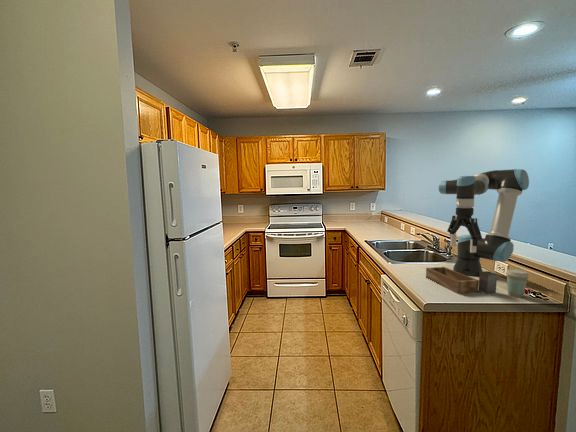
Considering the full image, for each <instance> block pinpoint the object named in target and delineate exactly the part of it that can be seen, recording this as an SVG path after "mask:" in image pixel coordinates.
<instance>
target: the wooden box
mask: <svg viewBox="0 0 576 432" xmlns="http://www.w3.org/2000/svg"><path fill="white" fill-rule="evenodd" d="M425 270H426V271H425V278H426V279H427V278H428V279H427V280H429V279H430V280H429V281H431V280H432V282H433V281H434V282H433V283H435V282H436V283H435V284H437V285H440V286H442V287H443V288H446V289H447V290H450V291H452V292H454V293H455V294H457V295H459V294H470V293H471V294H472V293H479V291H478V290H479V279H476V278H473V277H471V276H470V275H464V274H461V273H459V272H456V271H454V270H453V269H451V268H448V267H447V266H436V267H426V268H425Z"/></svg>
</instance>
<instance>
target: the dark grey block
mask: <svg viewBox="0 0 576 432" xmlns="http://www.w3.org/2000/svg"><path fill="white" fill-rule="evenodd" d="M478 280H479V287H478V292H481V293H482V294H483V293H484V294H486V295H494V294H495V295H496V294H497V284H498V283H497V281H498V273H495V272H492V271H487V270H486V271H483V272H480V274H479V277H478Z"/></svg>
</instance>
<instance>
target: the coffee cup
mask: <svg viewBox="0 0 576 432" xmlns="http://www.w3.org/2000/svg"><path fill="white" fill-rule="evenodd" d="M505 274H506V281H507V282H506V283H507V284H506V285H507V286H506V287H507V294H508V295H509V296H511V297H515V298H523V297H524V295H525V291H526V287H527V284H528V283H527V282H528V278H530V276H529V273H528V271H526V270H523V269H518V268H508V269H507V270H506V273H505Z"/></svg>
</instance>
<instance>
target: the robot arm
mask: <svg viewBox="0 0 576 432" xmlns="http://www.w3.org/2000/svg"><path fill="white" fill-rule="evenodd" d="M529 184H530V179H529V174H528V172H527V171H526V170H525V169H517V168H514V169H499V170H498V169H496V170H488V171H486V172H485V171H484V172H481V173H477V174H475V175H460V176H458V177H457V179H452V180H447V179H446V180H442V181H440V182H439V183H438V192H439V193H440V194H441V195H456V198H455V199H456V202H455V206H456V208H455V215H452V217H451V220H450V224H449V226H448V229H447V232H448V234H449V235H450V236H449V237H450V238H449V239H450V244H449V245H450V247H453V248H454V247H456V246H457V253H456V254H457V255H456V257H457V258H456V260H455V263H454V265H453V268H452V270H454V271H456V272H459V273H461V274H464V275H466V276H469V277H471V276H473V277H474V276H475V277H476V276H477V277H478V276H479V274H480V272H484V271H483V270H484V269H482V264H481V261H480V260H481V259H484V260H489V261H494V262H500V263H501V262H502V263H503V262H507V261H508V260H510V258H511V257H512V255H513V253H514V247H515V245H514V243H513V242H512V241H511V240H512V239H511V238H510V237H509V235H510V230H511V226H512V221H513V217H514V213H515V209H516V204H517V201H518V196H521V195H522V193H523V191H526V190H527V189H528V188H529ZM488 190H494V191H496V192H497V193H498V196H497V201H496V206H495V210H494V214H493V217H492V222H491V225H490V230H489V233H486V234H485V237H484V238H483V236H482V234H481V231H480V228H479V227H480V226H479V224H478V218H476V217H474V218H473V217H472V216H473V215H474V212H475V210H474V207H475V196H477V195H479V196H480V195H483V194H485V193H487V191H488ZM461 226H462V227H465V228H466V229H467V232H469V234H464V235H463V234H462V235H459V236H458V240H457V232H458V230H459V229H460V227H461ZM447 232H446V233H447ZM511 254H512V255H511ZM510 256H511V257H510Z"/></svg>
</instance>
